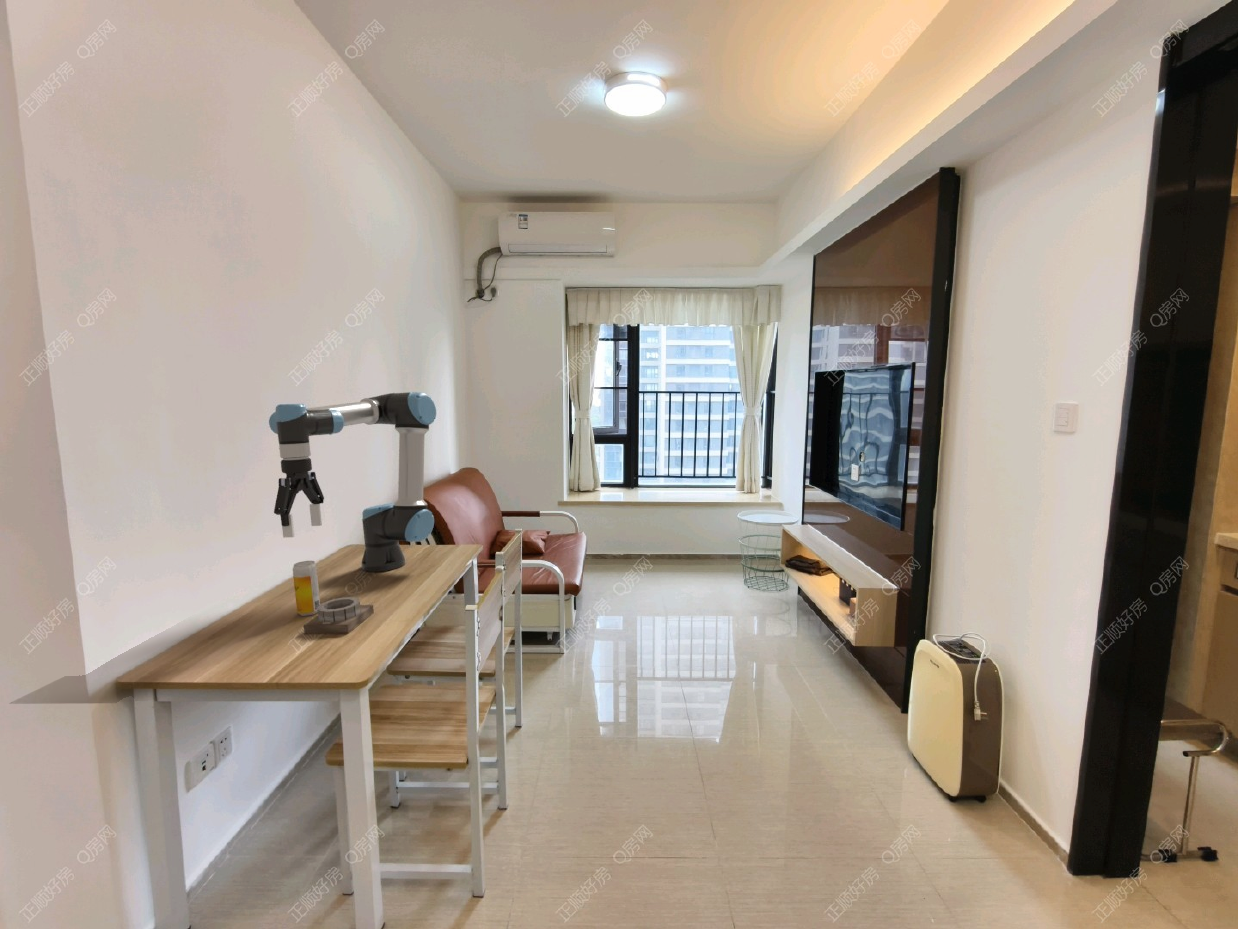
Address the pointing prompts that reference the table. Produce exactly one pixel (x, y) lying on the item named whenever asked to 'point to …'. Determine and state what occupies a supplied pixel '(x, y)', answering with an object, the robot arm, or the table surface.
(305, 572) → the beer can
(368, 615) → the cup holder
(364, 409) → the robot arm
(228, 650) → the table surface
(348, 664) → the table surface
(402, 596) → the table surface
